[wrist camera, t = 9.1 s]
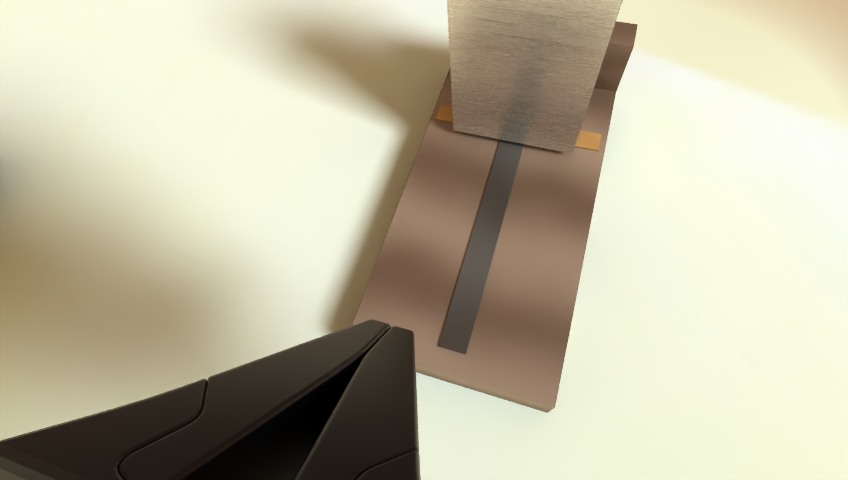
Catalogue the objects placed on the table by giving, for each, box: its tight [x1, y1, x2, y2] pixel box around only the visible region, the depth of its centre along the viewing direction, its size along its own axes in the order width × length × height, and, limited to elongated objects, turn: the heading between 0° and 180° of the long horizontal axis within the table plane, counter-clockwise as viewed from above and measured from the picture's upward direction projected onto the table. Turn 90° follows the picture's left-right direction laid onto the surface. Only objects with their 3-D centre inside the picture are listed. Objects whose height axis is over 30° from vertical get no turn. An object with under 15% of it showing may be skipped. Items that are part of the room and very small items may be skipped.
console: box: [352, 22, 637, 413], centre depth 23 cm, size 18×9×5 cm, turn 163°
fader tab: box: [447, 0, 623, 154], centre depth 19 cm, size 3×7×12 cm, turn 73°
